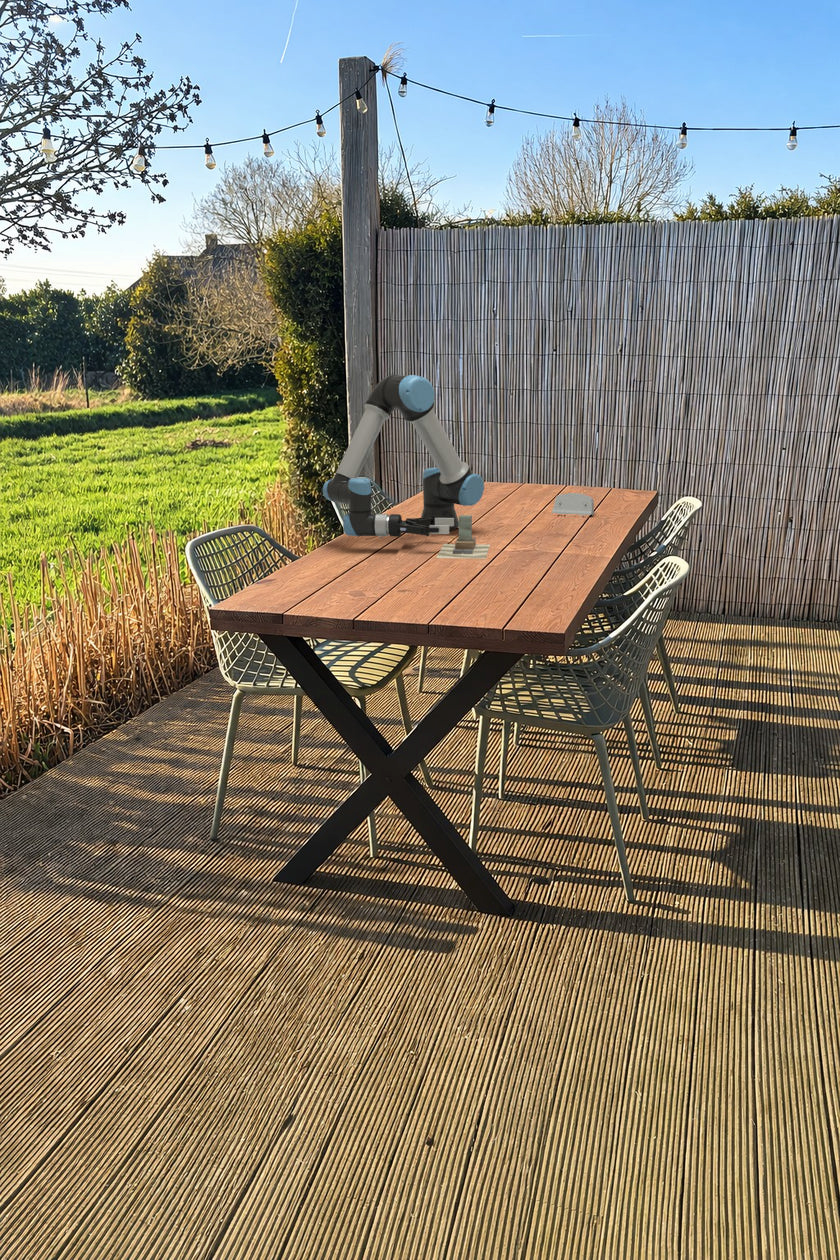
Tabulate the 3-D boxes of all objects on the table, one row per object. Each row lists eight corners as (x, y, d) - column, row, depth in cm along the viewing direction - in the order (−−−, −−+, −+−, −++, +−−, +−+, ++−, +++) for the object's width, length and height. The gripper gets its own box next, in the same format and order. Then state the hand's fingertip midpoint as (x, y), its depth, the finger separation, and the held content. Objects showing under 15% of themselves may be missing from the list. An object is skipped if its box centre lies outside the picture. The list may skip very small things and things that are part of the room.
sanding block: (458, 544, 335) (457, 513, 332) (475, 544, 334) (475, 513, 331) (455, 550, 325) (454, 518, 322) (473, 550, 325) (473, 519, 322)
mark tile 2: (463, 552, 323) (463, 549, 322) (473, 552, 322) (473, 549, 322) (463, 554, 320) (463, 551, 320) (472, 554, 319) (472, 551, 319)
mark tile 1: (453, 551, 323) (453, 549, 323) (462, 552, 323) (462, 549, 322) (452, 553, 320) (452, 550, 320) (461, 554, 320) (461, 551, 320)
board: (443, 548, 336) (443, 544, 336) (490, 548, 334) (490, 544, 333) (435, 562, 315) (435, 558, 315) (485, 563, 313) (485, 558, 313)
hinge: (550, 515, 393) (553, 491, 394) (553, 517, 398) (556, 493, 398) (591, 517, 387) (594, 492, 387) (593, 519, 391) (596, 495, 391)
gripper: (395, 529, 344) (455, 529, 341) (382, 543, 320) (447, 544, 317) (395, 508, 341) (455, 508, 338) (382, 521, 318) (447, 521, 315)
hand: (451, 525), depth 328 cm, fingers open, 13 cm apart
